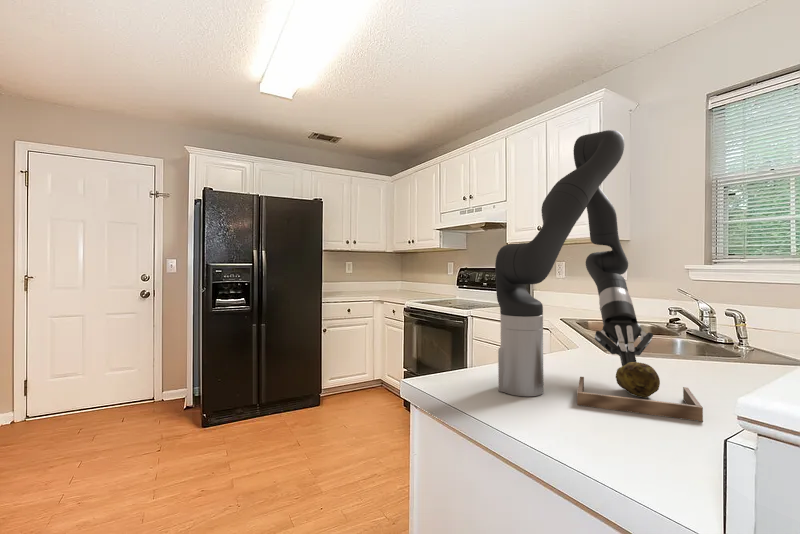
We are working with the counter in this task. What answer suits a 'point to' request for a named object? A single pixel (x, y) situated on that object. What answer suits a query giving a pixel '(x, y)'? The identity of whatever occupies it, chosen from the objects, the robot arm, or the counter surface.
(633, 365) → the potato
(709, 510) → the counter surface
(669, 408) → the tray
